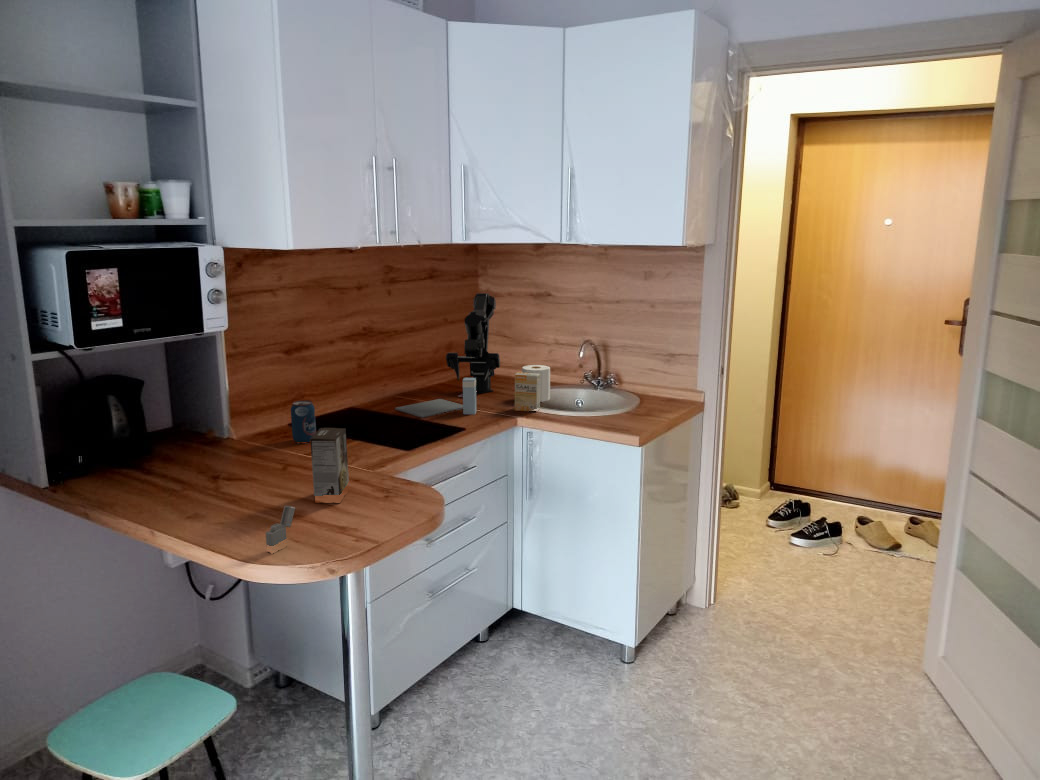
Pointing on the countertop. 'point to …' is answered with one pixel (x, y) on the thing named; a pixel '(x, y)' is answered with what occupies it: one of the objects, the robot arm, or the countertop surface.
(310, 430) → the soda can
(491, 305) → the robot arm
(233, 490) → the countertop surface
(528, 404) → the supplement box
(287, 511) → the lighter
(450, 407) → the grey mat
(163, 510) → the countertop surface
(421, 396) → the countertop surface
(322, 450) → the coffee box
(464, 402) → the blue block
